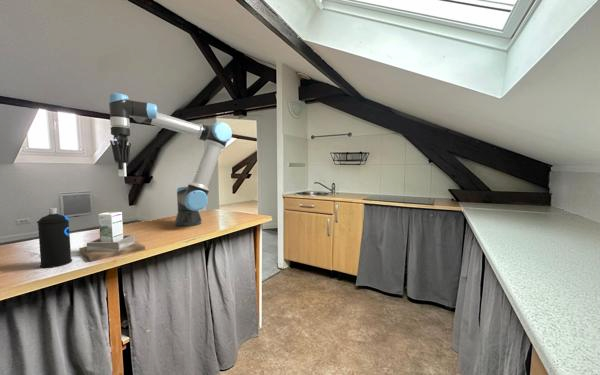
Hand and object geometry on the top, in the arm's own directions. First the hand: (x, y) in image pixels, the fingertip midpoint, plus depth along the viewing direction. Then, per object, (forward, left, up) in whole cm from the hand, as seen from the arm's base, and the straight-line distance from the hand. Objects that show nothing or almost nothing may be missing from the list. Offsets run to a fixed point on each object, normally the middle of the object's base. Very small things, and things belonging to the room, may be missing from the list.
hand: (122, 176), depth 120 cm
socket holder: (+10, +19, -30) cm, 37 cm away
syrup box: (+10, +19, -29) cm, 36 cm away
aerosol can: (+27, +21, -31) cm, 46 cm away
